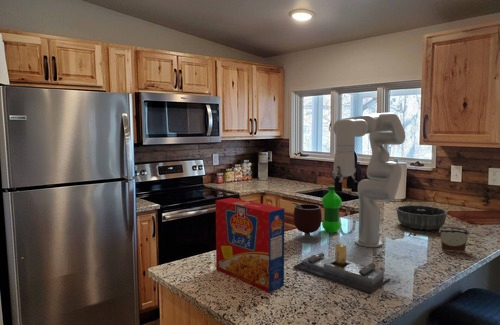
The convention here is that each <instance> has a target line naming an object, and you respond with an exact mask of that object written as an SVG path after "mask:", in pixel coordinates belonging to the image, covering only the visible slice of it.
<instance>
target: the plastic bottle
mask: <svg viewBox="0 0 500 325" xmlns="http://www.w3.org/2000/svg"><path fill="white" fill-rule="evenodd" d="M334 189H335V185H328V186H327V190H328V192H327V193H326V194H325V195H324V196H322V198H321V204H322V206H323V220H322V221H321V226H322V228H323V229H324V230H325V231H326V233H328V234H330V233H331V234H335V233H336V232H338V231H339V230H340V229H341V225H342V224H341V222H340V207H342V204H343V203H342V202H343V201H342V198H341V197H340V196H339V195H338V194H337V192H336V191H334Z"/></svg>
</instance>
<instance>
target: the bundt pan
mask: <svg viewBox="0 0 500 325" xmlns="http://www.w3.org/2000/svg"><path fill="white" fill-rule="evenodd" d="M395 210H396V213H397V214H396V215H397V220H398V222H399V223H400V224H401V225H402V226H404V227H406V228H408V229H413V230H417V229H418V230H420V231H422V230H425V231H430V230H431V231H435V230H438V229H439V230H440V228H441V227H443V226H444V225H445V224H446V223H445V222H446V217H447V214H448V211H447V210H445V209H443V208H440V207H436V206H435V207H434V206H427V205H416V204H415V205H414V204H413V205H411V204H409V205H399V206H397V207H396V208H395Z"/></svg>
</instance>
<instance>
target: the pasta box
mask: <svg viewBox="0 0 500 325" xmlns="http://www.w3.org/2000/svg"><path fill="white" fill-rule="evenodd" d="M215 244H216V245H215V250H216V251H215V256H216V257H215V259H216V260H215V264H216V271H218V272H220V273H222V274H224V275H227V276H229V277H232V278H233V279H237V280H239V281H241V282H243V283H246V284H247V285H249V286H252V287H254V288H256V289H259V290H260V291H261V290H262V291H263V292H266V293H268V294H270V293H272V292H273V291H276V290H278V289H281V288H283V287H284V286H285V208H283V207H279V206H273V205H270V204H264V203H259V202H255V201H249V200H245V199H244V200H243V199H241V198H234V197H227V198H223V199H216V200H215Z"/></svg>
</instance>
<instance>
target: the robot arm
mask: <svg viewBox="0 0 500 325" xmlns="http://www.w3.org/2000/svg"><path fill="white" fill-rule="evenodd" d="M332 128H333V129H332V130H333V132H334V134H335V154H334V160H333V170H332V178H333V182H334V186H335V189H334V191H335V193H337V192H338V193H342V192H343V182H342V181H343V179H344V178H346V189H349V190H353V189H355V178H356V171H357V168H356V167H355V165H356V164H355V148H356V147H355V144H356V140H355V139H356V138H357V137H358V138H361V137H363V136H365V135H369V136H368V139H369V142H370V149H371V157H370V159H369V162H368V165H367V169H366V176H367V178H366V179H365V178H364V179H361V180H360V181H359V182H358V183H357V193H358V194H357V195H358V200H359V201H358V203H359V204H358V205H359V206H358V208H359V211H358V237H357V238H356V239H354V242H355V244H356V245H358V246H361V247H366V248H379V247H381V246H383V241H382V240H380V237H382V232H380V221H381V220H380V218H381V208H380V204H379V203H378V201H384V202H393V201H394V200H395V198H396V195H397V192H398V190H399V186H400V182H401V179H402V175H403V174H402V172H403V171H402V166H401V165H400V163H398V162H396V161H390V158H391V157H390V152H389V151H388V150H387V149H386V147H385V146H384V145H388V146H389V145H393V146H394V145H395V146H400V145H402V144H404V142H405V141H406V132H405V129H404V126H403V124H402V121H401V119H400V117H399V116H398V115H397V114H396V113H394V112H381V113H379V112H378V113H371V114H365V115H358V116H354V117H346V118H340V119H337V120H336V121H335V123H334V124H333V127H332Z"/></svg>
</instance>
